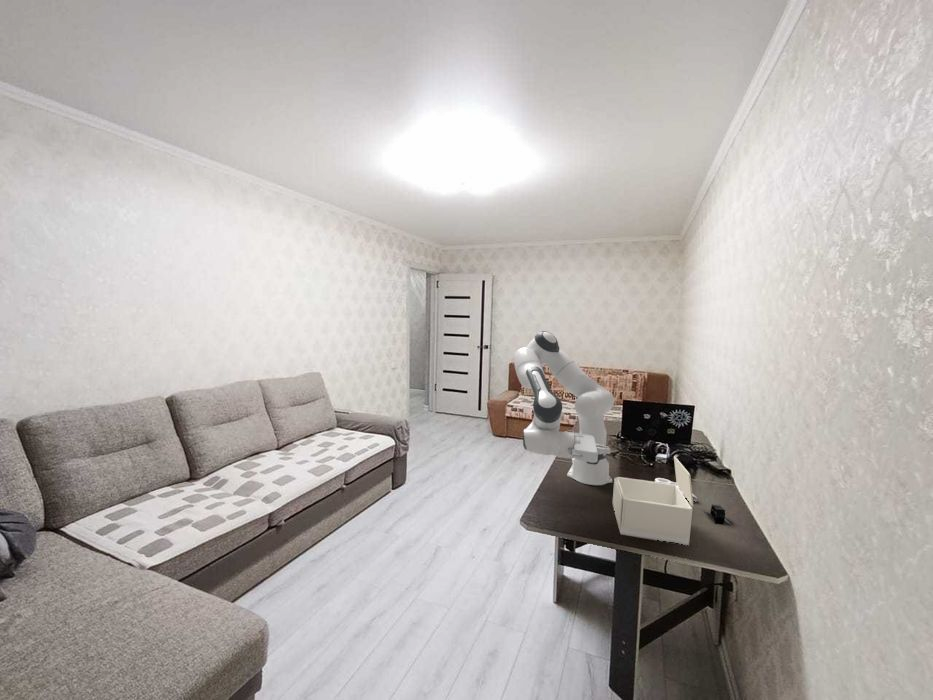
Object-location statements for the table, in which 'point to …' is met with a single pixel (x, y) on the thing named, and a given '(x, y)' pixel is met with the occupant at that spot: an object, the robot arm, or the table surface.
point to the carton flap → (683, 480)
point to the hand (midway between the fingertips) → (609, 450)
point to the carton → (651, 510)
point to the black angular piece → (718, 515)
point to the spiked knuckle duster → (674, 484)
